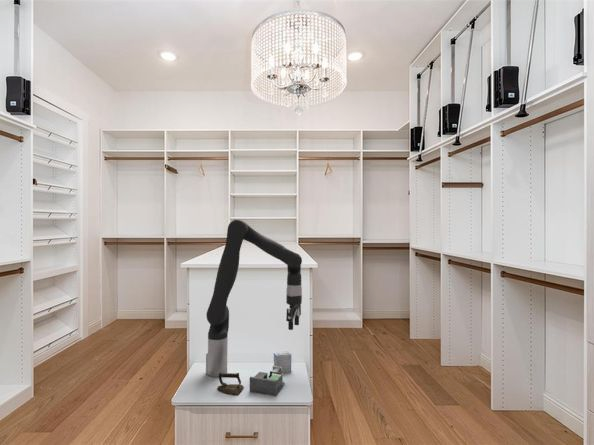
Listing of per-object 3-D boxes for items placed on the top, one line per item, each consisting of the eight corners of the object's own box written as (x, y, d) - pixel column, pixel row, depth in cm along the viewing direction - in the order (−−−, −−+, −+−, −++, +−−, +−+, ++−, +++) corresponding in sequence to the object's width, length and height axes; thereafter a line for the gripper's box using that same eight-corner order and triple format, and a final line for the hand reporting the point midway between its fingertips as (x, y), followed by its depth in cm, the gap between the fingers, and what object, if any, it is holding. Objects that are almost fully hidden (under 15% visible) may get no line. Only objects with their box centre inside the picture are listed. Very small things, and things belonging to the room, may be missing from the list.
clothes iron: (240, 397, 139) (233, 374, 139) (215, 401, 141) (209, 378, 141) (245, 387, 146) (239, 365, 145) (221, 391, 148) (216, 370, 148)
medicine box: (288, 368, 167) (288, 350, 167) (291, 371, 163) (291, 353, 163) (273, 370, 164) (273, 352, 165) (276, 374, 160) (276, 355, 161)
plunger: (266, 381, 150) (266, 371, 150) (273, 373, 158) (273, 363, 158) (281, 383, 147) (281, 373, 148) (288, 375, 156) (288, 365, 156)
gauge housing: (249, 391, 142) (249, 377, 142) (260, 381, 153) (260, 367, 153) (275, 396, 139) (275, 381, 139) (284, 384, 149) (284, 371, 149)
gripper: (291, 291, 171) (291, 322, 171) (281, 295, 158) (281, 330, 157) (305, 292, 169) (305, 324, 168) (296, 297, 155) (296, 332, 155)
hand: (293, 327), depth 163 cm, fingers open, 8 cm apart
